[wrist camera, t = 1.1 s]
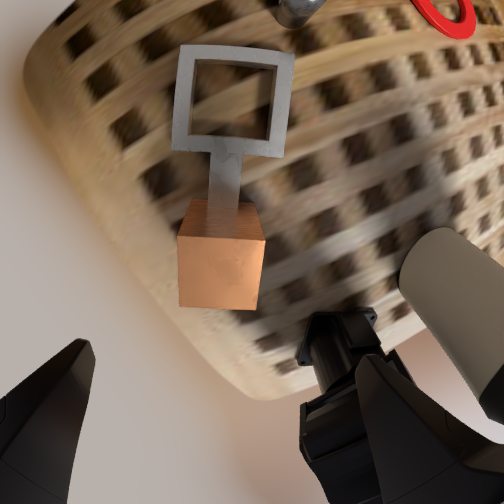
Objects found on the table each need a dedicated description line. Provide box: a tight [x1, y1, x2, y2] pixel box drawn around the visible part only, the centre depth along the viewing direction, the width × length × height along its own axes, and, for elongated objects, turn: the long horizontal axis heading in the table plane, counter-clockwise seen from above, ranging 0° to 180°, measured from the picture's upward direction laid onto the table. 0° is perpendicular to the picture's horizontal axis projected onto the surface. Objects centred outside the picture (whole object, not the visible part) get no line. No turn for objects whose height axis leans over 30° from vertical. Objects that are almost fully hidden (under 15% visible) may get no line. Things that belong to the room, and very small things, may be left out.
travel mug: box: [399, 227, 504, 425], centre depth 14 cm, size 8×8×18 cm
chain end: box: [171, 45, 295, 310], centre depth 14 cm, size 14×6×6 cm, turn 174°
